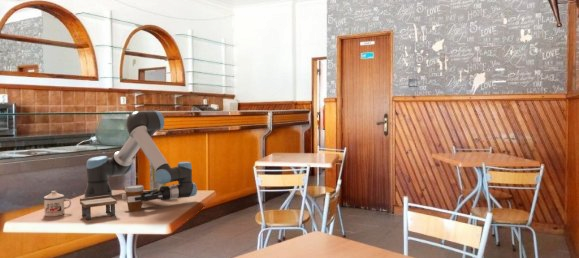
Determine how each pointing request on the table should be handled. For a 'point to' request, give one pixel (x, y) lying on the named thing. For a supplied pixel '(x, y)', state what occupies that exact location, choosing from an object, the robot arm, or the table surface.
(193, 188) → the robot arm
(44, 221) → the table surface
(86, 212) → the peg shelf
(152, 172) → the juice carton
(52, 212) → the teacup with lid
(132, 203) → the disposable coffee cup
